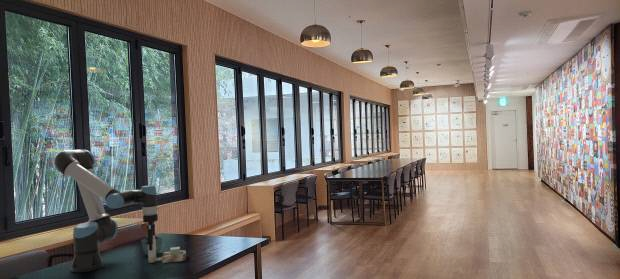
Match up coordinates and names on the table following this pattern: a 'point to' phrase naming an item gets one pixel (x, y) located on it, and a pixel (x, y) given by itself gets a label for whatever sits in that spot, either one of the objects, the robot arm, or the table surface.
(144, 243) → the flower pot
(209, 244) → the table surface
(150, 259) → the beige teardrop-shaped paddle
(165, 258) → the beige u-shaped frame
